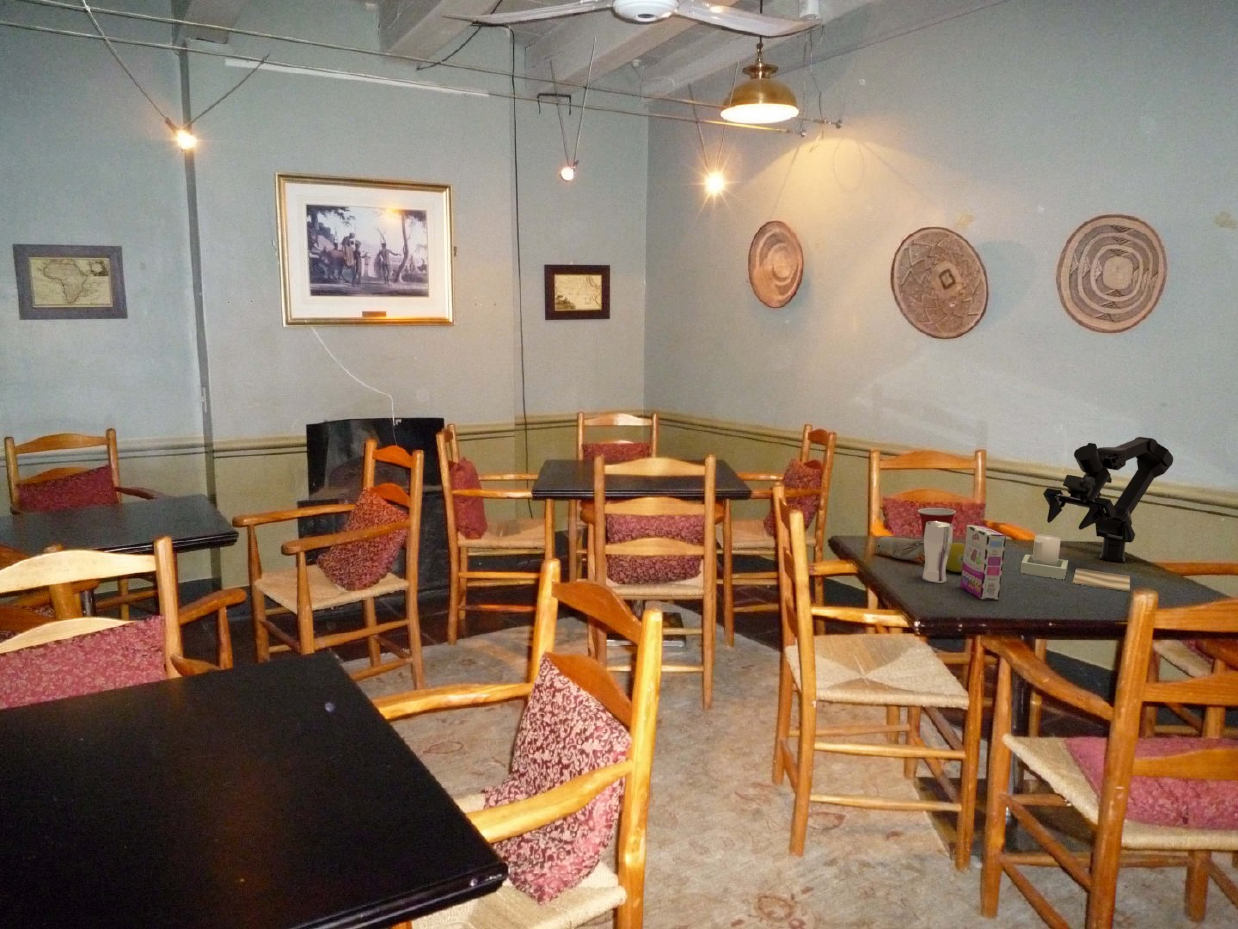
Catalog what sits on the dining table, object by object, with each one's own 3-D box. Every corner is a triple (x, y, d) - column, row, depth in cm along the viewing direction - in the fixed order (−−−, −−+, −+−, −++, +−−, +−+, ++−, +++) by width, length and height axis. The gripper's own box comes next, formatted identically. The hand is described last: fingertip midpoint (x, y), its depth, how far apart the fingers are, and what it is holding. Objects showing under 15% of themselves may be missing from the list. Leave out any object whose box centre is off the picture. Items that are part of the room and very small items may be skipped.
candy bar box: (1000, 600, 211) (1007, 535, 208) (980, 600, 211) (987, 534, 208) (978, 587, 222) (984, 524, 219) (959, 586, 222) (965, 524, 219)
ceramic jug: (1040, 567, 243) (1044, 533, 241) (1061, 573, 237) (1065, 538, 236) (1022, 571, 239) (1026, 535, 237) (1043, 577, 233) (1048, 541, 232)
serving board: (1075, 570, 242) (1076, 568, 242) (1129, 578, 235) (1129, 576, 235) (1072, 583, 228) (1072, 581, 228) (1129, 592, 222) (1129, 590, 221)
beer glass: (944, 576, 230) (949, 521, 228) (951, 584, 224) (957, 527, 221) (917, 575, 231) (922, 520, 229) (923, 582, 224) (929, 526, 222)
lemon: (935, 572, 234) (938, 543, 233) (938, 565, 241) (941, 537, 240) (978, 578, 230) (981, 549, 229) (980, 571, 237) (983, 543, 236)
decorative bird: (880, 553, 254) (882, 528, 253) (932, 564, 243) (935, 538, 242) (871, 556, 250) (873, 530, 249) (924, 568, 239) (926, 541, 238)
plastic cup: (920, 542, 269) (924, 504, 267) (956, 548, 262) (960, 509, 261) (909, 548, 260) (913, 509, 258) (946, 555, 254) (950, 515, 252)
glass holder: (1024, 564, 246) (1025, 554, 245) (1066, 571, 240) (1068, 560, 240) (1020, 573, 237) (1021, 562, 236) (1064, 580, 231) (1065, 569, 231)
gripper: (1050, 460, 248) (1022, 500, 244) (1115, 470, 232) (1086, 513, 228) (1064, 485, 253) (1036, 525, 249) (1128, 497, 237) (1100, 539, 233)
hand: (1063, 525), depth 240 cm, fingers open, 9 cm apart
